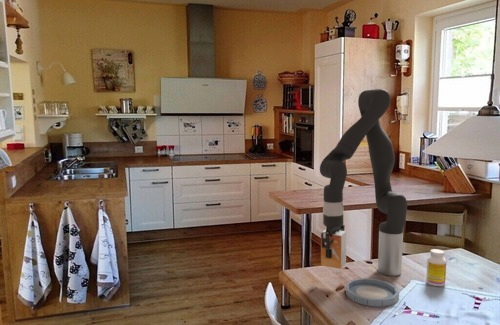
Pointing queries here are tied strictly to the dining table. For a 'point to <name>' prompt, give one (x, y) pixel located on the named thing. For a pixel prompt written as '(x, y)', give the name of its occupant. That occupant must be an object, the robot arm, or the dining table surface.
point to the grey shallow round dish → (372, 292)
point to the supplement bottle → (436, 268)
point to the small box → (335, 251)
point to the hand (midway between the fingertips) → (333, 254)
